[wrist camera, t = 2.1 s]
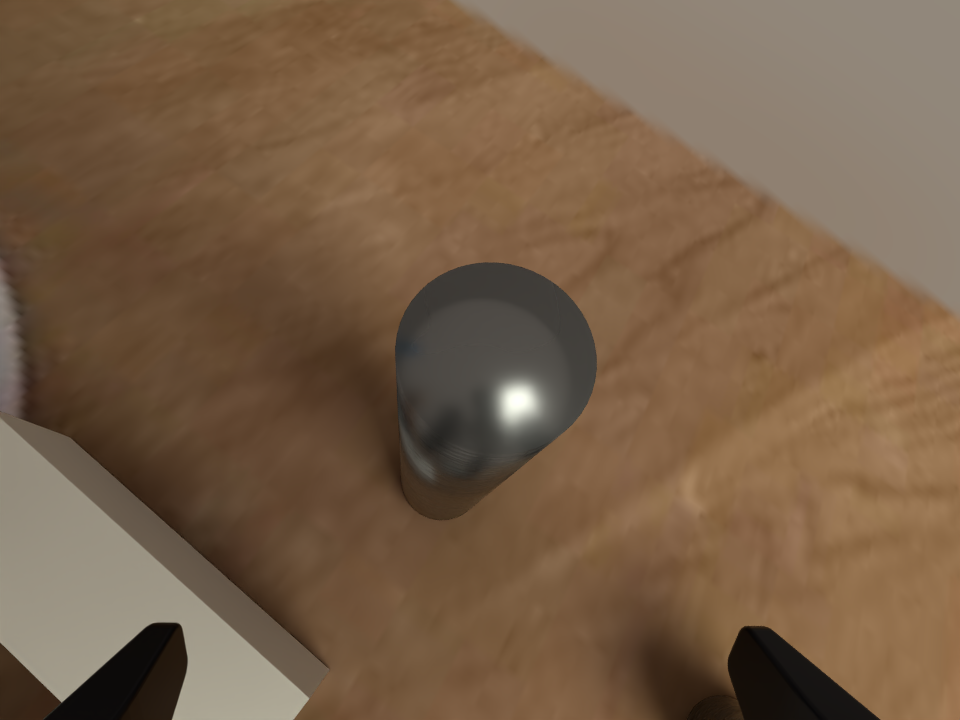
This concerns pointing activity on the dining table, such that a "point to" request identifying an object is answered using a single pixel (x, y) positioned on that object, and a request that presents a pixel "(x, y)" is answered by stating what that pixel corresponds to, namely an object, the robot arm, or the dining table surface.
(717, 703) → the short pin
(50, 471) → the collar
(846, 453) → the dining table surface
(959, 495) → the dining table surface
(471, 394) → the long pin
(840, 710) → the robot arm
